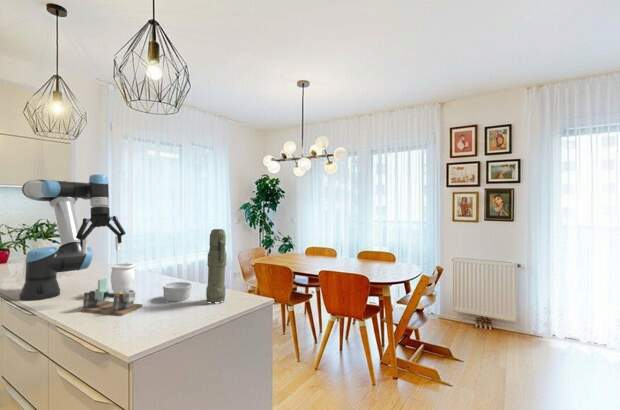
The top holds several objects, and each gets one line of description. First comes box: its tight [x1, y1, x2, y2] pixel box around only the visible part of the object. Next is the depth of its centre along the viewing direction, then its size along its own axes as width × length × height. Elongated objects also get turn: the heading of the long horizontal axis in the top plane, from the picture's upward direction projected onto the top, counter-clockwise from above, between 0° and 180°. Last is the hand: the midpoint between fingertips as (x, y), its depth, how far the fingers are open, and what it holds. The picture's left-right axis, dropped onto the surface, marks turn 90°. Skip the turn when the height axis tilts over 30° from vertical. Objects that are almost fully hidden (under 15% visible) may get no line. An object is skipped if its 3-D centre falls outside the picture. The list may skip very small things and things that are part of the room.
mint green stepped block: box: [94, 277, 110, 300], centre depth 141 cm, size 4×4×9 cm
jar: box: [110, 263, 136, 294], centre depth 163 cm, size 11×10×15 cm
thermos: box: [205, 228, 227, 303], centre depth 156 cm, size 9×12×35 cm
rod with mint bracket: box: [80, 288, 143, 317], centre depth 140 cm, size 20×12×8 cm, turn 80°
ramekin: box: [162, 281, 193, 303], centre depth 159 cm, size 13×13×7 cm
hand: (101, 252), depth 150 cm, fingers open, 13 cm apart
